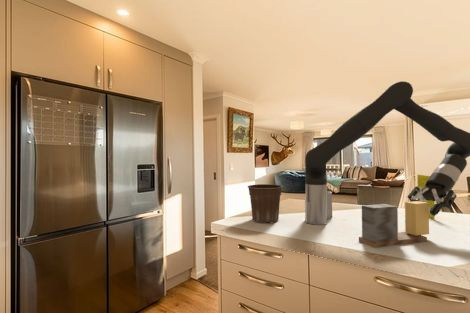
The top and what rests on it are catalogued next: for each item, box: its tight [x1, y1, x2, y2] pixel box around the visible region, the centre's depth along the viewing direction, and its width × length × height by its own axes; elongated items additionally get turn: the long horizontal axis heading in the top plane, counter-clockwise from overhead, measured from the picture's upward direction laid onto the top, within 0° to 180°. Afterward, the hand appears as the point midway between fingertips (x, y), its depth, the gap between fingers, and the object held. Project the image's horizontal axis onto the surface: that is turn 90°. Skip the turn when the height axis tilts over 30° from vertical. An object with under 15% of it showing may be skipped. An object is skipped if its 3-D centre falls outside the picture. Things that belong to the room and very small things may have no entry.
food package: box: [417, 174, 436, 220], centre depth 127 cm, size 15×1×20 cm, turn 168°
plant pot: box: [247, 183, 283, 224], centre depth 121 cm, size 16×16×16 cm
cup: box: [327, 190, 333, 219], centre depth 129 cm, size 9×9×12 cm
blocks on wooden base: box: [358, 203, 428, 249], centre depth 89 cm, size 22×7×12 cm, turn 106°
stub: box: [404, 201, 430, 236], centre depth 92 cm, size 6×4×11 cm, turn 106°
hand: (420, 211), depth 92 cm, fingers open, 8 cm apart
